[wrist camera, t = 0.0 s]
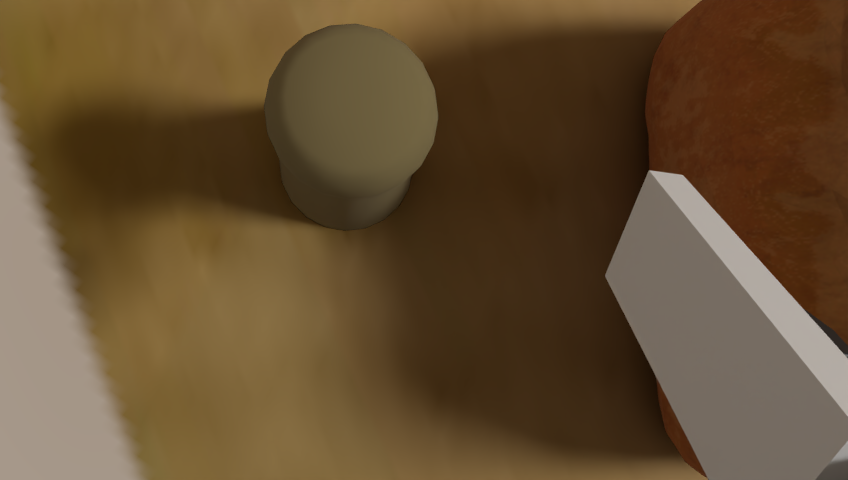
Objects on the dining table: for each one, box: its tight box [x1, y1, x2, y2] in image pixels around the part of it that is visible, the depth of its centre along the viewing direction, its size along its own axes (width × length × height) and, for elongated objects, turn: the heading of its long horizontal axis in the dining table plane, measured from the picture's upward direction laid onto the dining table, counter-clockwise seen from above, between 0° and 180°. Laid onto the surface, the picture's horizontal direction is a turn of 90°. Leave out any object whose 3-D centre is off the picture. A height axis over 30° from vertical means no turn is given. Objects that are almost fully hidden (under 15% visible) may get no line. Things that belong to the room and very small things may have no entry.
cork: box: [264, 24, 438, 231], centre depth 22 cm, size 6×6×11 cm
